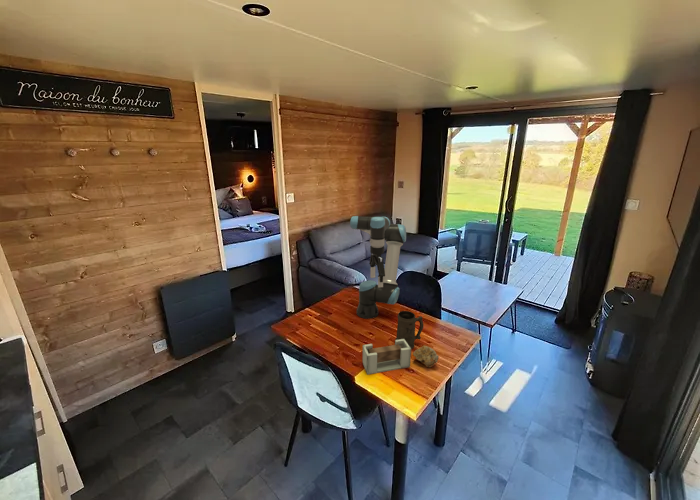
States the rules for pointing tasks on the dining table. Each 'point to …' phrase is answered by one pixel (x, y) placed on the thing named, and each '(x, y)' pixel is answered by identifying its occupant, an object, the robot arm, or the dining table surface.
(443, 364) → the dining table surface
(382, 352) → the rail
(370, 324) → the dining table surface
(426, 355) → the rock
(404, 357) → the post bracket
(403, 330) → the beer stein
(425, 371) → the dining table surface
